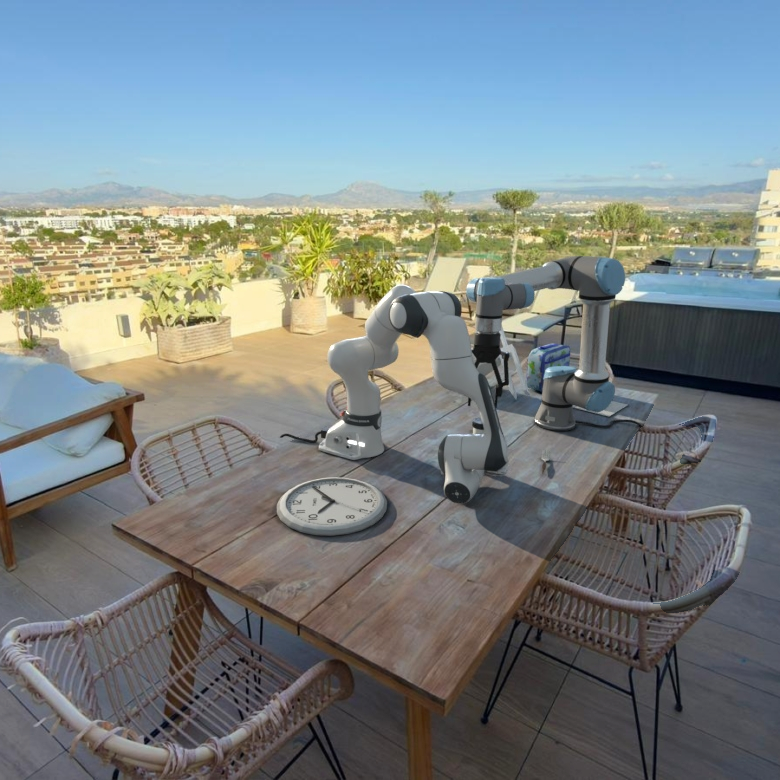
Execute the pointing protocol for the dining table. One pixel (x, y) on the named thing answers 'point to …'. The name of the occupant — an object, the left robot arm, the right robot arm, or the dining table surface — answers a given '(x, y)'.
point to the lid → (477, 423)
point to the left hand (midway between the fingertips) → (478, 451)
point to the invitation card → (608, 409)
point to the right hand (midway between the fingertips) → (482, 405)
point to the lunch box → (545, 363)
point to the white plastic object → (487, 367)
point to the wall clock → (331, 506)
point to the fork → (545, 460)
